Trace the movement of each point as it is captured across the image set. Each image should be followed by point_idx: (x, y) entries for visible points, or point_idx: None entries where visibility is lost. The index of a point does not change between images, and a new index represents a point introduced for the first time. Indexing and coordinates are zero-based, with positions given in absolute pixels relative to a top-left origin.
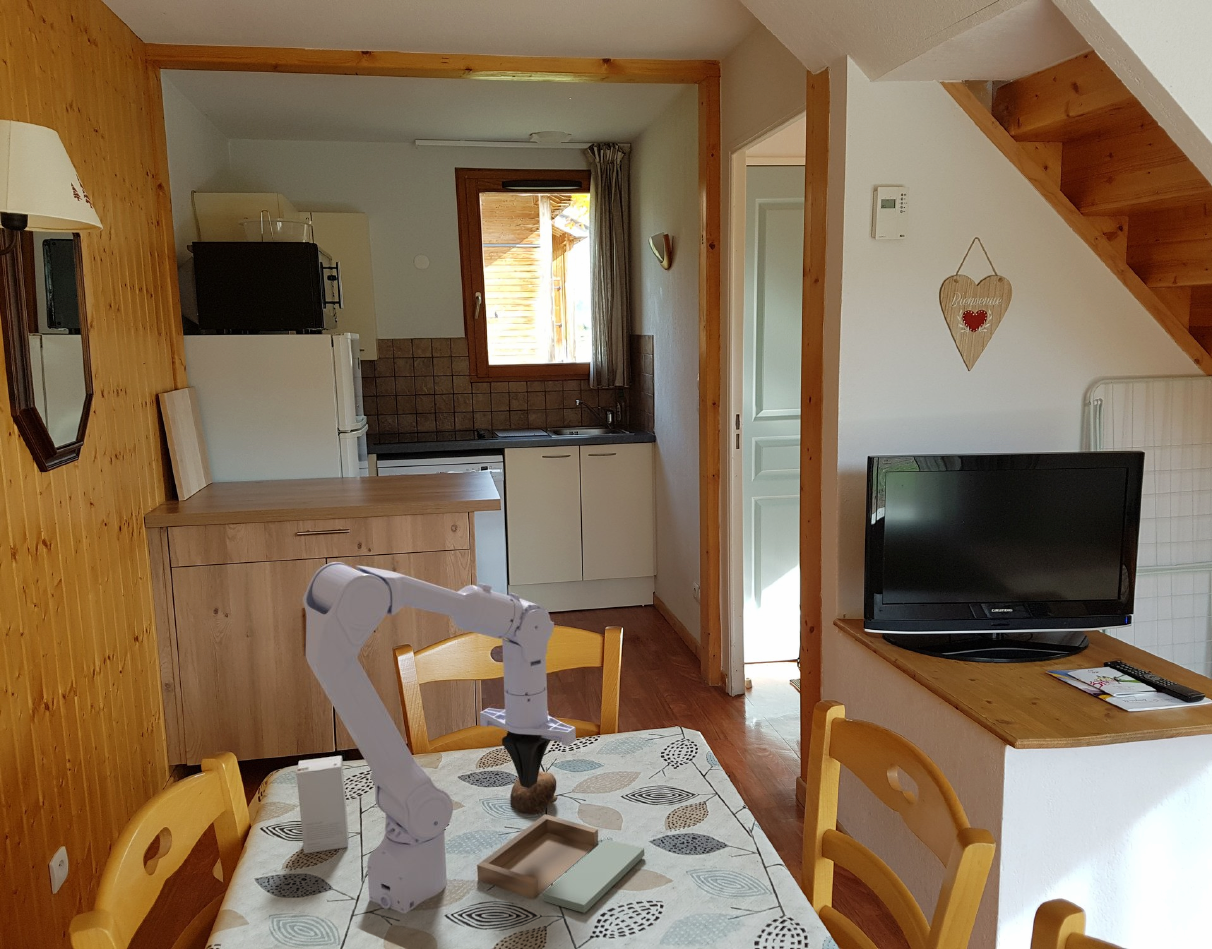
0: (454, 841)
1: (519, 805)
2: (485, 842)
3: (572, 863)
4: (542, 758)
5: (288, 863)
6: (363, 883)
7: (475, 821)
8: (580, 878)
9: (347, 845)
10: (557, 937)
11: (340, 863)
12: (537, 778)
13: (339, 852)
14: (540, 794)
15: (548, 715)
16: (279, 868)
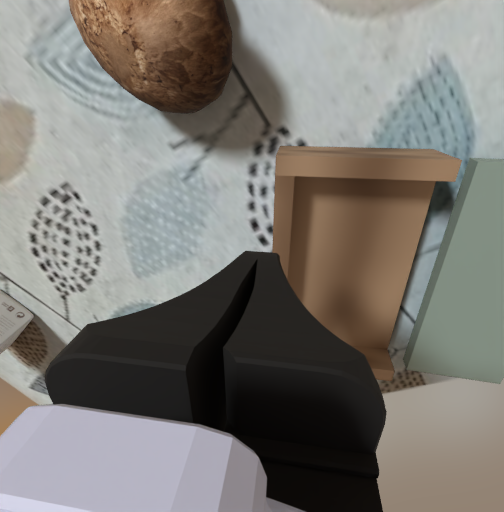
0: (136, 239)
1: (167, 110)
2: (183, 218)
3: (410, 253)
4: (297, 297)
5: (22, 359)
6: None
7: (106, 159)
8: (465, 322)
9: (32, 318)
10: (441, 378)
11: (65, 342)
12: (279, 259)
13: (38, 324)
14: (206, 75)
15: (256, 463)
16: (26, 369)
